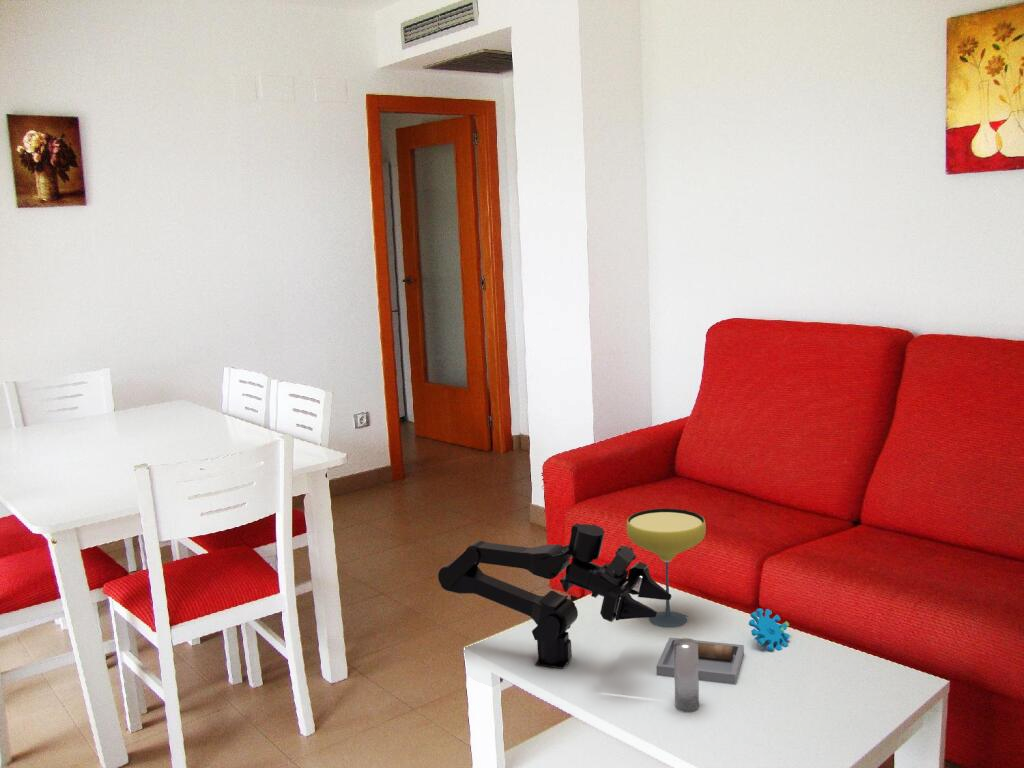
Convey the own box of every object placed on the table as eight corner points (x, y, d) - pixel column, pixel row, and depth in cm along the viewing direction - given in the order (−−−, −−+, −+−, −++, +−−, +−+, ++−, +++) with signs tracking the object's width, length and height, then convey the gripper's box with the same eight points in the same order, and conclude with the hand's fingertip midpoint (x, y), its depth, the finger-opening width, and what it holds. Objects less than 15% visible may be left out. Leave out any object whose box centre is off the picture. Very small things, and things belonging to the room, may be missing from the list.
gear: (765, 652, 202) (744, 609, 208) (749, 664, 206) (729, 621, 212) (802, 645, 208) (781, 603, 213) (786, 657, 212) (765, 615, 217)
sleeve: (673, 710, 184) (671, 647, 182) (677, 698, 188) (676, 637, 186) (697, 713, 182) (695, 649, 180) (700, 701, 186) (699, 639, 184)
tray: (656, 677, 197) (656, 665, 197) (669, 648, 210) (669, 637, 210) (735, 686, 192) (735, 674, 191) (743, 656, 204) (743, 645, 204)
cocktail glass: (669, 600, 236) (667, 503, 232) (723, 623, 221) (722, 520, 217) (613, 620, 226) (610, 519, 222) (666, 645, 211) (664, 538, 207)
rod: (697, 659, 203) (697, 646, 202) (700, 653, 206) (699, 640, 205) (731, 663, 200) (731, 649, 200) (733, 656, 203) (732, 643, 203)
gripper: (584, 558, 188) (657, 587, 182) (617, 529, 205) (686, 555, 199) (573, 607, 192) (645, 637, 185) (607, 575, 208) (674, 602, 202)
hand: (663, 605), depth 193 cm, fingers open, 9 cm apart
